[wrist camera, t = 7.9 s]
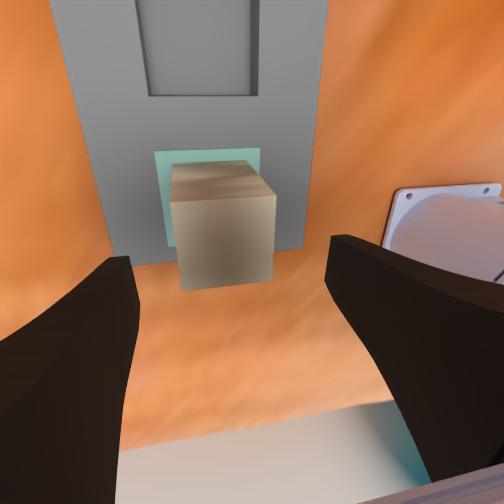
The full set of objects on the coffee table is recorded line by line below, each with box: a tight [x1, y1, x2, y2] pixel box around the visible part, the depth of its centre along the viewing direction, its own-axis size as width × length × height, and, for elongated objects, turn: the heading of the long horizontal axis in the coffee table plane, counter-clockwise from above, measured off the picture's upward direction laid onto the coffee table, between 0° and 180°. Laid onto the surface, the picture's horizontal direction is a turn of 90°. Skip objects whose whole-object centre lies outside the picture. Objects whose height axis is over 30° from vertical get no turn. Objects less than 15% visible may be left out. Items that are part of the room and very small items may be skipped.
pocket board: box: [49, 0, 329, 266], centre depth 17 cm, size 12×16×3 cm
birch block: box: [170, 160, 277, 291], centre depth 15 cm, size 4×4×6 cm
